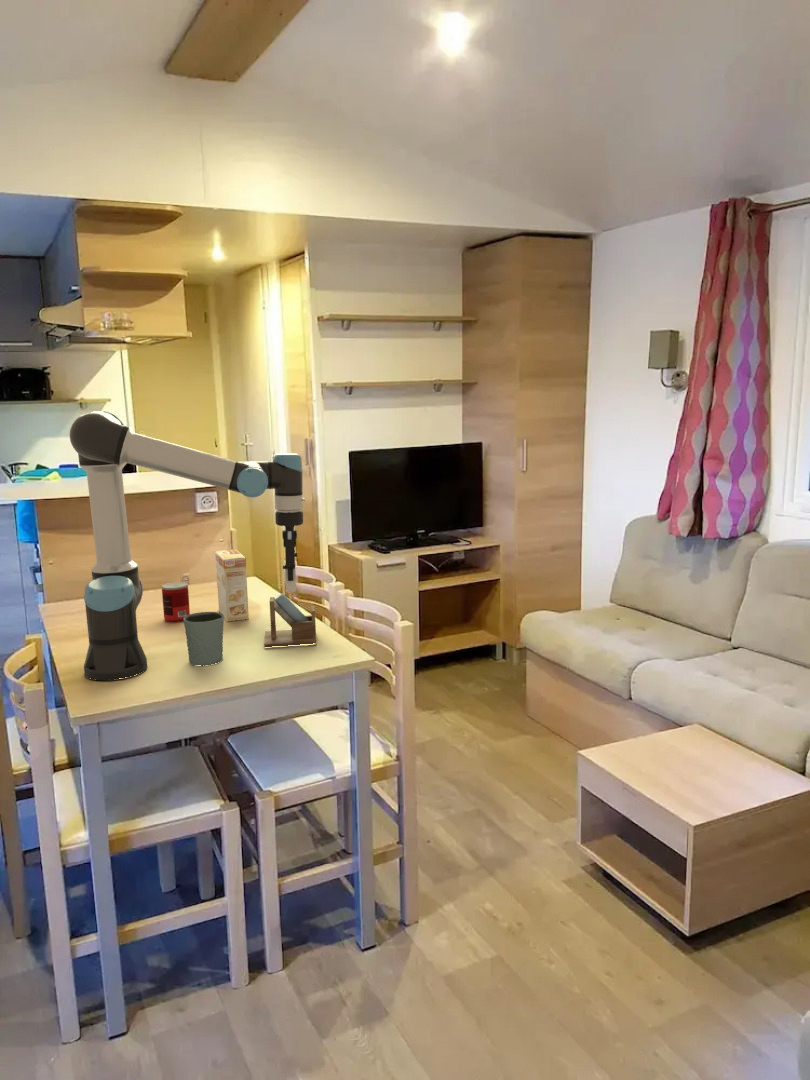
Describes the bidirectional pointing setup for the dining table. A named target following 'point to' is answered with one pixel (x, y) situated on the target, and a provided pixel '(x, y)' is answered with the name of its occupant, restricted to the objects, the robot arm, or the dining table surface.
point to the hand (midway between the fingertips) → (290, 586)
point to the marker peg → (290, 608)
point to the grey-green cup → (204, 637)
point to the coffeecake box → (232, 585)
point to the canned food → (175, 601)
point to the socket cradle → (296, 636)
